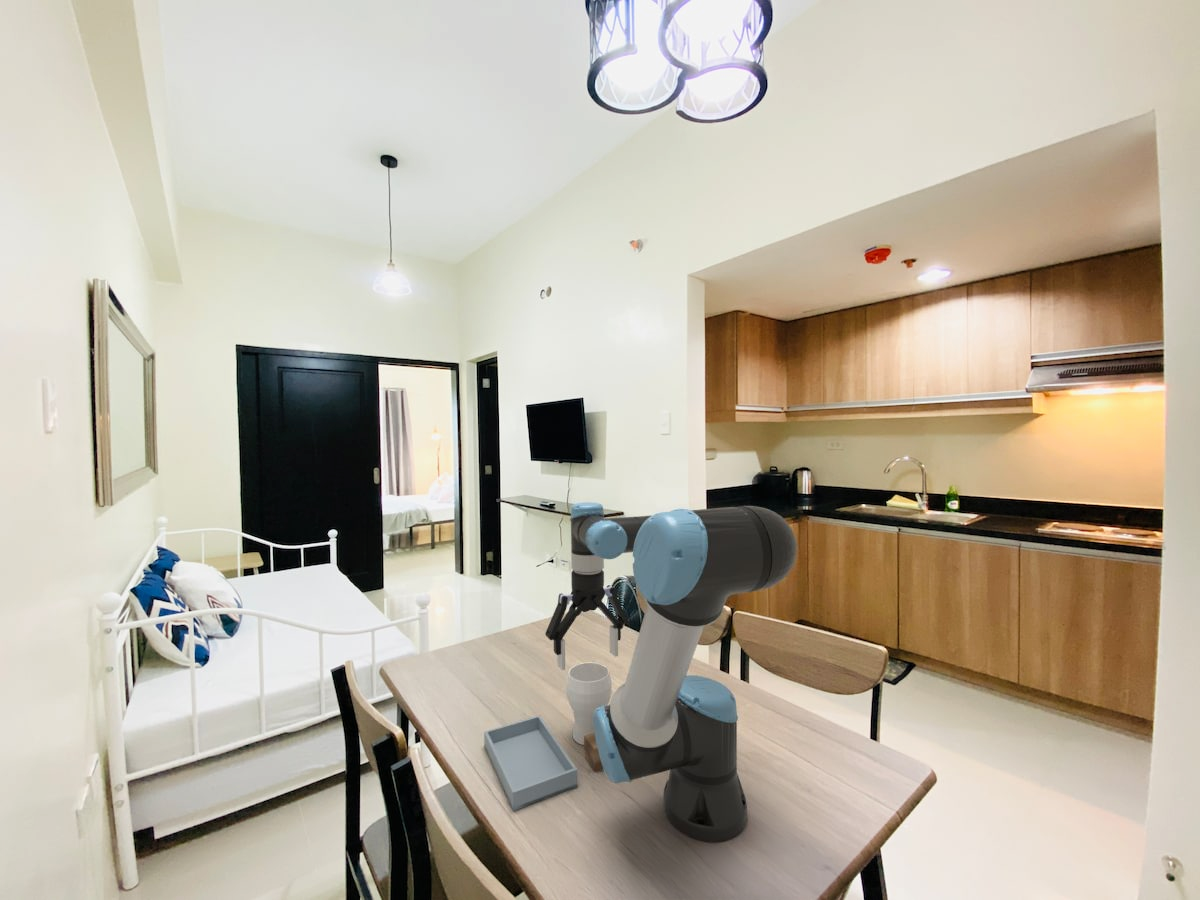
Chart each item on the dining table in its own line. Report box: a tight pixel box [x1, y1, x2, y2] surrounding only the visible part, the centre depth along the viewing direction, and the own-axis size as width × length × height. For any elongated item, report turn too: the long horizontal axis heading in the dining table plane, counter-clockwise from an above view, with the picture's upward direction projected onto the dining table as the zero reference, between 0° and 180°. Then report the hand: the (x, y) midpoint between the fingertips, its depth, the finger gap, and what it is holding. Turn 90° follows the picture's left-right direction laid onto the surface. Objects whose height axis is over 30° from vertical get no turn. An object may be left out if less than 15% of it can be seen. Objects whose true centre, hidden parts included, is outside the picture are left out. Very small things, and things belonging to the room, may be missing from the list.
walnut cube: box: [583, 732, 604, 773], centre depth 103 cm, size 5×5×5 cm
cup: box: [565, 661, 613, 746], centre depth 111 cm, size 11×11×15 cm
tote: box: [483, 714, 579, 812], centre depth 101 cm, size 21×13×4 cm, turn 28°
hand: (588, 660), depth 111 cm, fingers open, 13 cm apart
